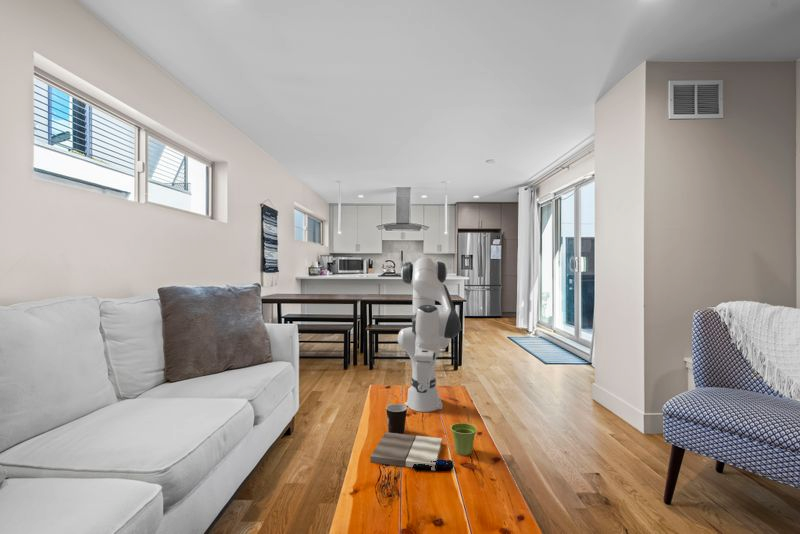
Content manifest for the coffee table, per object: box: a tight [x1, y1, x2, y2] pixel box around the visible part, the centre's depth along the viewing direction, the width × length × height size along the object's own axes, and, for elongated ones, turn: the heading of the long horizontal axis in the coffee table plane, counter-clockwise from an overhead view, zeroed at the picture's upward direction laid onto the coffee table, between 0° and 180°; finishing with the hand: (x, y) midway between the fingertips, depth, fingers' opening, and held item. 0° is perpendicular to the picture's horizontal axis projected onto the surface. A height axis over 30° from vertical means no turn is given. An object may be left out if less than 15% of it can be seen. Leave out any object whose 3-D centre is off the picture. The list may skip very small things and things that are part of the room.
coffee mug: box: [385, 403, 408, 434], centre depth 152 cm, size 12×9×10 cm
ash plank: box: [405, 435, 443, 471], centre depth 132 cm, size 20×10×2 cm, turn 167°
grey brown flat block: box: [369, 431, 416, 467], centre depth 135 cm, size 20×12×2 cm, turn 167°
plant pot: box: [450, 422, 478, 456], centre depth 135 cm, size 9×9×9 cm
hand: (426, 388), depth 133 cm, fingers closed
